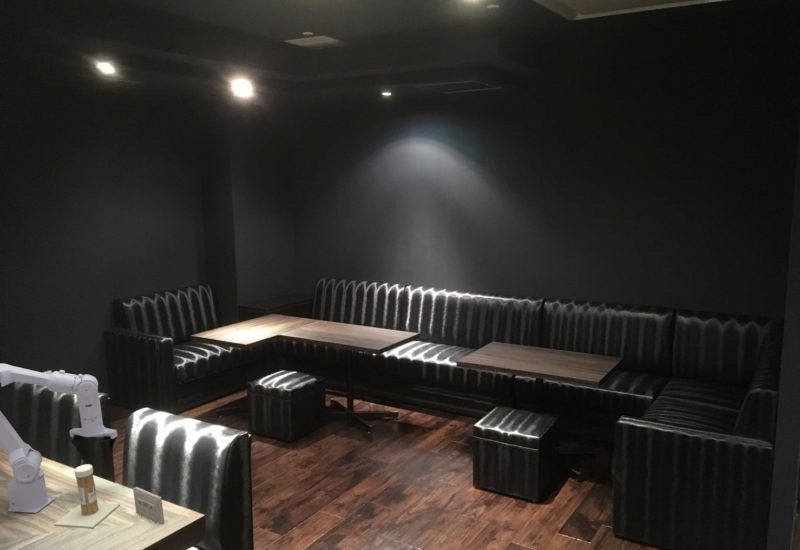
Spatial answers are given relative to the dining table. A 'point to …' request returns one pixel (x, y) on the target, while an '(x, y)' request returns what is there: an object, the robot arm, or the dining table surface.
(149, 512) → the cassette
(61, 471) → the dining table surface
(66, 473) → the dining table surface
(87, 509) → the sprinkles bottle
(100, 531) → the dining table surface
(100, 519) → the sage mat
